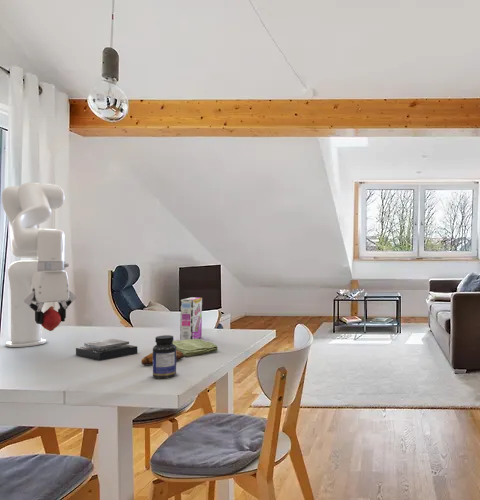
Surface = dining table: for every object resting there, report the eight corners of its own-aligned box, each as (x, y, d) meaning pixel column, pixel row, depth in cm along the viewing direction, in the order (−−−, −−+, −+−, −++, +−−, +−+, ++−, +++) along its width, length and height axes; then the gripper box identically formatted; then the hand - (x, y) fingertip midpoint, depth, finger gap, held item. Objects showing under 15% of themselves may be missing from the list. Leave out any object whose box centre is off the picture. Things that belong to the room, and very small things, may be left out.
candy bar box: (192, 342, 183) (192, 299, 183) (179, 342, 183) (179, 299, 183) (202, 337, 194) (202, 297, 194) (190, 337, 194) (190, 297, 194)
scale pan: (84, 345, 161) (84, 343, 161) (113, 341, 169) (112, 338, 169) (100, 348, 155) (100, 346, 155) (129, 343, 163) (129, 341, 163)
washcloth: (184, 358, 156) (184, 348, 156) (162, 350, 169) (162, 340, 169) (220, 352, 165) (220, 342, 165) (197, 345, 178) (197, 336, 178)
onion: (50, 333, 152) (51, 308, 152) (35, 332, 153) (35, 307, 153) (65, 329, 158) (65, 305, 158) (50, 329, 159) (50, 305, 159)
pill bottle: (156, 373, 136) (156, 334, 136) (178, 373, 136) (178, 334, 136) (149, 379, 129) (149, 338, 130) (172, 378, 130) (172, 338, 130)
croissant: (147, 368, 142) (147, 351, 142) (136, 364, 147) (136, 348, 147) (188, 360, 152) (188, 344, 152) (177, 357, 157) (177, 342, 157)
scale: (75, 355, 161) (75, 346, 161) (113, 348, 172) (113, 340, 172) (99, 360, 152) (99, 351, 152) (137, 353, 163) (137, 345, 163)
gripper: (72, 265, 164) (72, 318, 165) (15, 267, 150) (15, 324, 150) (84, 266, 160) (83, 320, 160) (26, 268, 146) (26, 327, 146)
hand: (50, 321), depth 155 cm, fingers closed on onion, 5 cm apart
